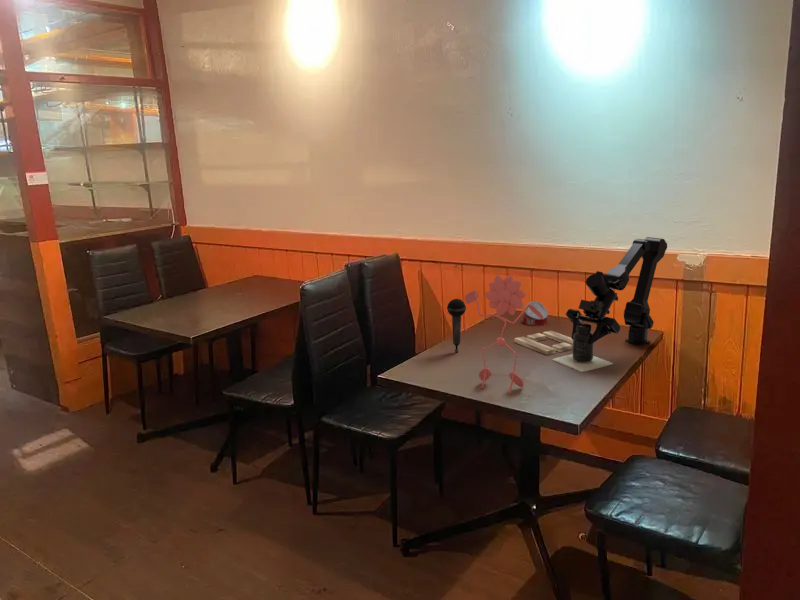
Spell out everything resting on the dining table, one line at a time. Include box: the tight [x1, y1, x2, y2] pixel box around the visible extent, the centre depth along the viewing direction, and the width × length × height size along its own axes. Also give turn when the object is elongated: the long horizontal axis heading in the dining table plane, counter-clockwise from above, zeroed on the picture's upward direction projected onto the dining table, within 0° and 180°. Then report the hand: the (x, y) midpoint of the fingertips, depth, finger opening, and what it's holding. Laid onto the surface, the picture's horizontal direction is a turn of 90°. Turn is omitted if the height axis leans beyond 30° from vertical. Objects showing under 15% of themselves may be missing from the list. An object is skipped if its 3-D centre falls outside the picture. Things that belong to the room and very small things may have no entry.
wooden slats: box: [513, 330, 573, 356], centre depth 233 cm, size 18×18×2 cm
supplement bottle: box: [572, 323, 595, 362], centre depth 212 cm, size 7×7×12 cm
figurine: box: [464, 274, 544, 398], centre depth 192 cm, size 15×26×35 cm, turn 59°
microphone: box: [446, 298, 467, 353], centre depth 224 cm, size 7×7×20 cm
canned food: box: [522, 300, 549, 327], centre depth 261 cm, size 11×10×10 cm
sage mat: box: [552, 353, 613, 373], centre depth 213 cm, size 14×14×1 cm
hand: (580, 341), depth 211 cm, fingers closed on supplement bottle, 7 cm apart
